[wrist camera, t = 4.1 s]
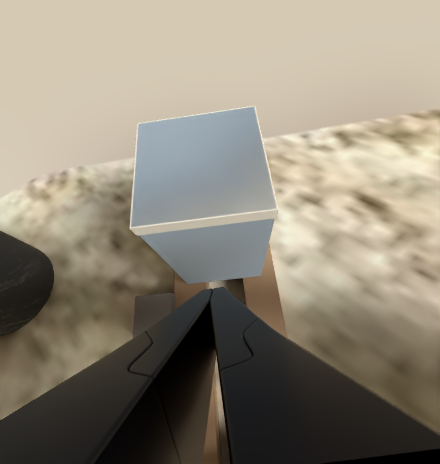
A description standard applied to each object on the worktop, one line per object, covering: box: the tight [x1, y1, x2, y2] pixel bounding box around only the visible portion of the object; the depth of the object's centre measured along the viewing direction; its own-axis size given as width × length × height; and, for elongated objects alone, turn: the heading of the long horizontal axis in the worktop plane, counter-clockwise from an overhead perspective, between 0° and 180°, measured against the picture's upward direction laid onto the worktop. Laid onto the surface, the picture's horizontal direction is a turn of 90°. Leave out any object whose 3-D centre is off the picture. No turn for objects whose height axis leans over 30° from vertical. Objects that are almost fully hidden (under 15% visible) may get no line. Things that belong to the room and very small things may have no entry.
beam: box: [133, 244, 287, 464], centre depth 15 cm, size 24×9×4 cm, turn 5°
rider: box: [130, 106, 278, 284], centre depth 14 cm, size 5×5×11 cm
